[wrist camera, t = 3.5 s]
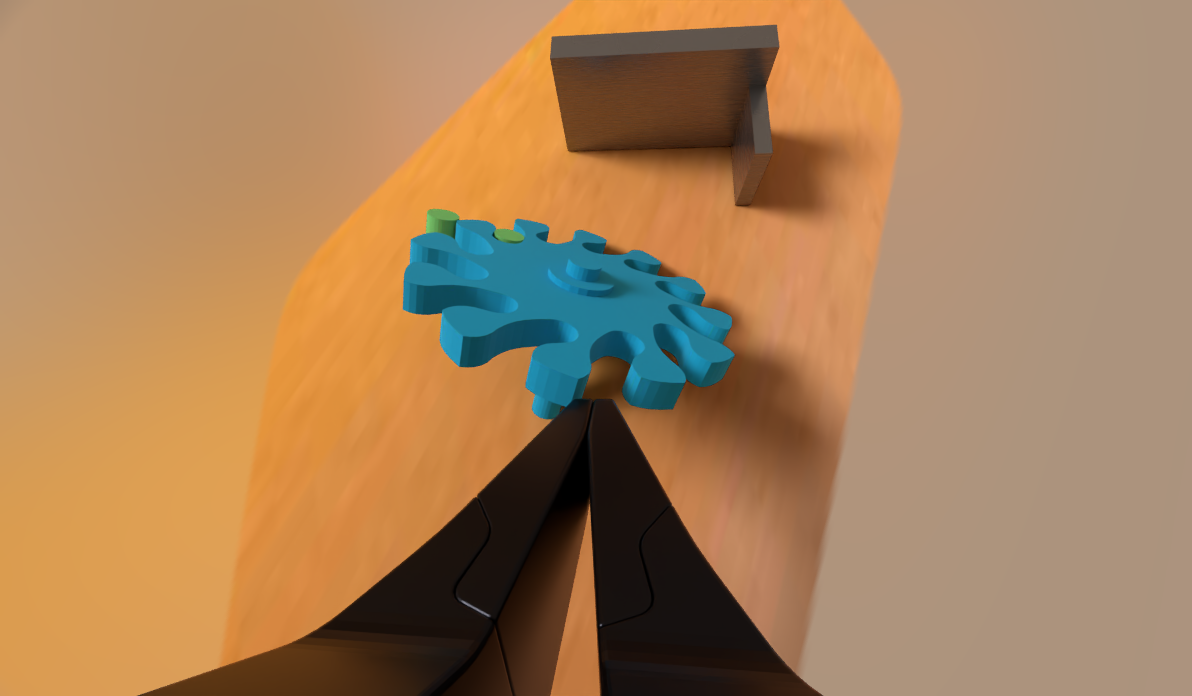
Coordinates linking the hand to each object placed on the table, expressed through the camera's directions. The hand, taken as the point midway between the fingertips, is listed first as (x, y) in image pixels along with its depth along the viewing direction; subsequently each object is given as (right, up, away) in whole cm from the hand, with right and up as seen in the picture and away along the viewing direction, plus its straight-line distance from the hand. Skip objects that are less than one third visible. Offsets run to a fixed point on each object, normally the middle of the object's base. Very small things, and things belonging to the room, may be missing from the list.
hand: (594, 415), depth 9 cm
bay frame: (+3, +9, +10) cm, 14 cm away
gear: (-1, +2, +8) cm, 8 cm away
